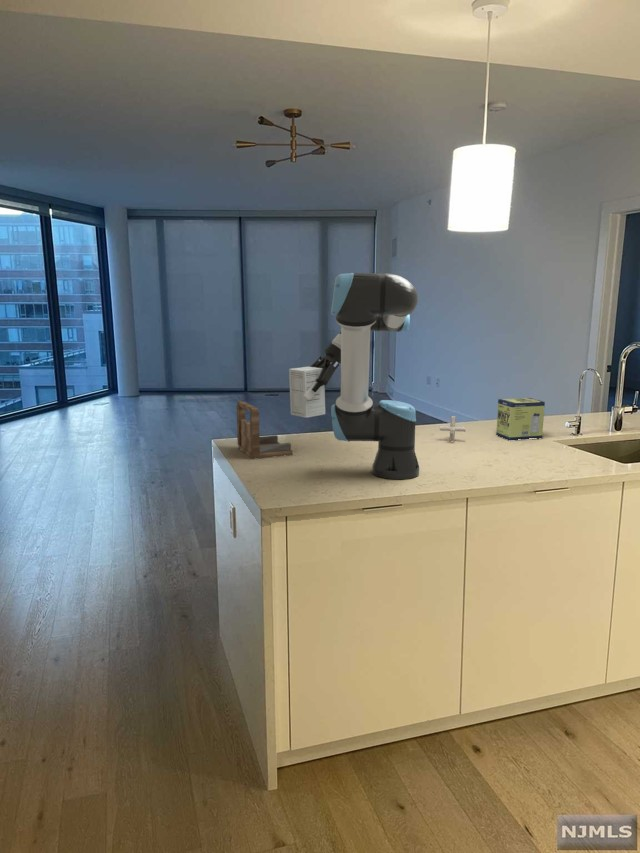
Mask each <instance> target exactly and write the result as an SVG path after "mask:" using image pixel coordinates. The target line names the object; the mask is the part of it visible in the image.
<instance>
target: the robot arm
mask: <svg viewBox="0 0 640 853" xmlns="http://www.w3.org/2000/svg"><path fill="white" fill-rule="evenodd" d="M333 286H334V287H333V295H332V303H331V310H330V314H331V316H334V317H335V322H336V323H337V325H339V326H340V328H341V329H340V330H341V331H340V332H339V333H338V334H337V335H336V336H335V337H334V338H333V340H332V341H331V343H329V344H328V345H327V347H326V348H325V349H324V353H325V356H324V357H323V356H319V357H318V358H317V359H316V361H314V363H312V364H311V365H310V366H309V367H316V368H323V369H322V371H321V373H320V375H319V378H318V379H316V381H317V382H316V381H315V382H314V383H313V384H312V386H311V387H310V388H309V389H308V390H307V391H306V393H305V394H304V396H305V397H306V398H307V399H308V400H310V399H311V398H312V397H313V395H314V394H315V393H316V392H317V391H318V390H319V388H320V387H321V386H323V385H324V386H327V385H328V383H329V381H330V379H331V378H332V377H333V375H334V373H335V372H336V370H337V369H338V367H339V366H340V396H338V397H337V398H336V400H335V403H334V404H332V405H331V408H330V409H331V414H330V415H331V423H332V424H331V425H332V432H333V436H334V438H335V439H336V440H338V441H345V442H378V446H377V452H376V454H375V457H374V459H373V463H372V465H371V466H372V468H371V471H372V472H371V473H372V474H373V475H375V476H376V477H379V478H383V479H389V480H390V479H391V480H408V479H414V478H416V477H419V475H420V465H419V461H418V458H417V454H416V452H415V450H416V449H415V445H416V444H415V443H416V438H415V437H416V423H417V418H416V417H417V415H416V412H417V410H416V408H415V407H414V406H413V405H412V404H410V403H408V402H407V403H406V402H404V401H398V400H390V399H382V400H380V401H379V403H378V404H373V403H374V402H373V399H372V398H371V397H370V396H369V381H370V380H369V379H370V352H371V351H370V350H371V332H398V333H400V332H407V331H409V329H410V324H411V323H410V322H411V317H410V316H411V315H412V314H411V313H413V312H414V310H415V309H416V308H417V305H418V301H419V295H418V292H417V289H416V287H415V286H414V285H413V284H412V283H411V282H410V281H409V280H408V279H407V278H405V277H403V276H401V275H398V274H395V273H389V272H388V273H387V272H383V273H379V272H377V273H376V272H375V273H373V272H371V273H368V272H365V273H364V272H362V273H360V272H359V273H357V272H349V273H340V274H338V275H337V276H335V280H334V285H333Z"/></svg>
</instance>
